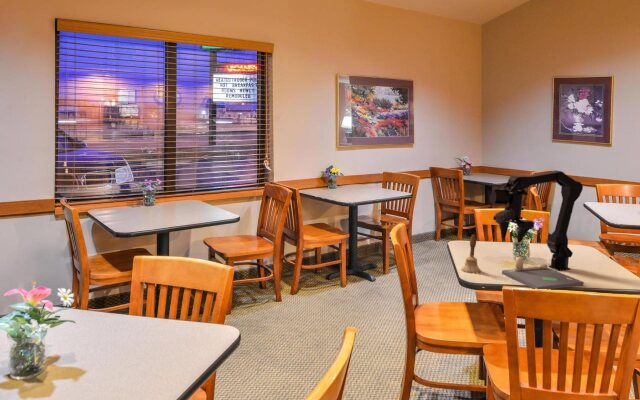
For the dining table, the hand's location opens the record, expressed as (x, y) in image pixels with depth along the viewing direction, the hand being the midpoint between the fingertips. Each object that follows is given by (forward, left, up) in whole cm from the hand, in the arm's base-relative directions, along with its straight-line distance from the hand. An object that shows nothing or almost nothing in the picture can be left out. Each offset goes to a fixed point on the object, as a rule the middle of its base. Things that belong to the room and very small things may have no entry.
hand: (511, 240), depth 222 cm
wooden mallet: (-6, +6, -12) cm, 14 cm away
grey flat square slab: (-4, +15, -13) cm, 21 cm away
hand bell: (+17, -4, -14) cm, 22 cm away
